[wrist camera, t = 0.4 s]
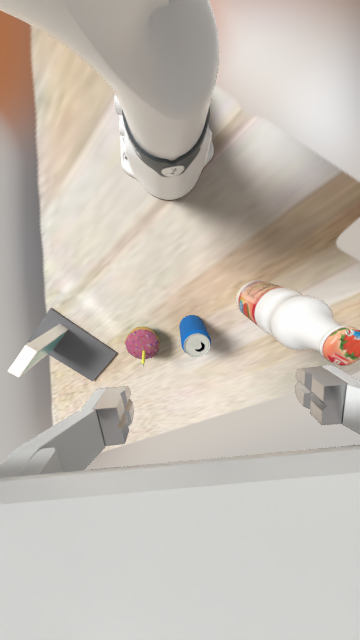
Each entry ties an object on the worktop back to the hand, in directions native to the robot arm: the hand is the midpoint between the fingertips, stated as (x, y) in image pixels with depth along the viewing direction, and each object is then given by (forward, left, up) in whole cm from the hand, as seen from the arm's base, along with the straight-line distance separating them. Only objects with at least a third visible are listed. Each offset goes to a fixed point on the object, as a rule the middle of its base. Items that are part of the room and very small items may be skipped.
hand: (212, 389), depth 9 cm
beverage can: (+12, +1, -40) cm, 42 cm away
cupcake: (+13, -12, -40) cm, 44 cm away
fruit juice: (+7, +18, -40) cm, 44 cm away
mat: (+13, -31, -40) cm, 52 cm away
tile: (+9, -35, -39) cm, 53 cm away
